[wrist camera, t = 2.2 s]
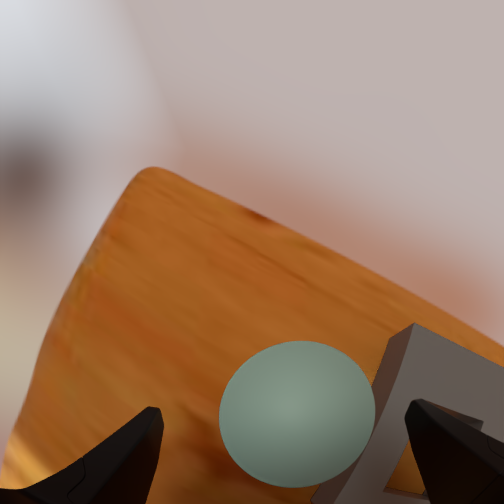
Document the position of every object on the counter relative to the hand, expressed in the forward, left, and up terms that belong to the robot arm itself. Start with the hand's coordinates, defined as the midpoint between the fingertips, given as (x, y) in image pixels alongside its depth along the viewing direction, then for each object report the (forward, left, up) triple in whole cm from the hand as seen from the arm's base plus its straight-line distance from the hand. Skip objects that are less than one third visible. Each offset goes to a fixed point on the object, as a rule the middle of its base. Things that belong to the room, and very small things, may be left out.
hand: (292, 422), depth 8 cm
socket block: (+2, -13, -11) cm, 17 cm away
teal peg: (0, 0, -11) cm, 11 cm away
